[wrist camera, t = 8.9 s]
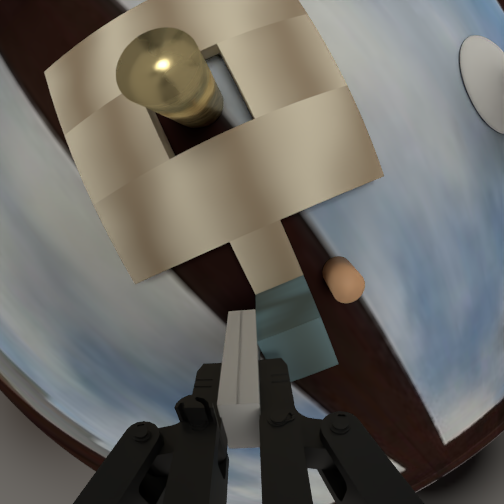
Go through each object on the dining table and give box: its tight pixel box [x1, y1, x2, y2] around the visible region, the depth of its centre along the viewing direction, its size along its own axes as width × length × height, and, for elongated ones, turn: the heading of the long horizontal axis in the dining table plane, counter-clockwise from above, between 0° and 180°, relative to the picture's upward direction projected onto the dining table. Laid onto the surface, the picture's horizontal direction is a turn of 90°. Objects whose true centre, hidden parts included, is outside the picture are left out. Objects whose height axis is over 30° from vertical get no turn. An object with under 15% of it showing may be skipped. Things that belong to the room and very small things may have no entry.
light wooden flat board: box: [44, 0, 384, 382], centre depth 13 cm, size 16×24×6 cm, turn 24°
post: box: [116, 27, 223, 129], centre depth 12 cm, size 3×3×8 cm
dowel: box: [322, 256, 365, 303], centre depth 17 cm, size 2×2×3 cm
